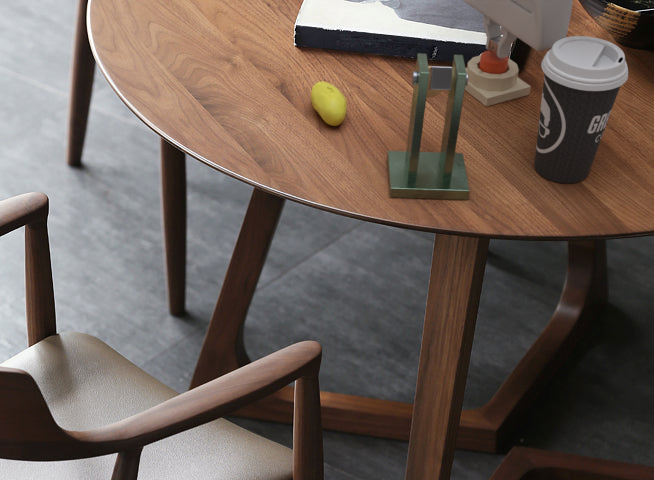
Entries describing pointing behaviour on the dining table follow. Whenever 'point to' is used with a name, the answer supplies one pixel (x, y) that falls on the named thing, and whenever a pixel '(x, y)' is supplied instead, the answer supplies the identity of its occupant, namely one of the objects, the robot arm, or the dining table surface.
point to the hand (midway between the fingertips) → (497, 53)
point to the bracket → (431, 167)
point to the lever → (439, 80)
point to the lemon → (329, 103)
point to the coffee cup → (576, 105)
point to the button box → (494, 83)
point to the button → (493, 63)
